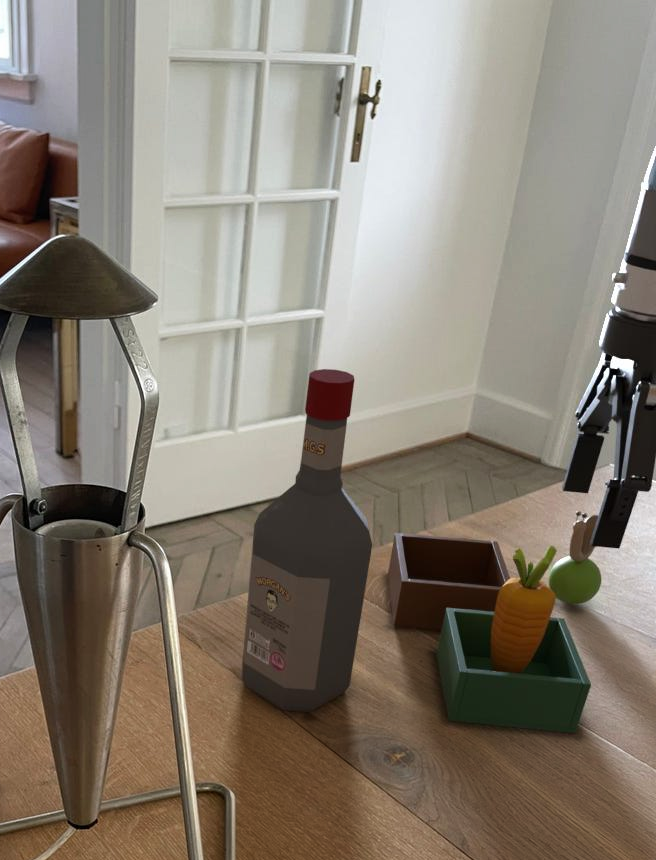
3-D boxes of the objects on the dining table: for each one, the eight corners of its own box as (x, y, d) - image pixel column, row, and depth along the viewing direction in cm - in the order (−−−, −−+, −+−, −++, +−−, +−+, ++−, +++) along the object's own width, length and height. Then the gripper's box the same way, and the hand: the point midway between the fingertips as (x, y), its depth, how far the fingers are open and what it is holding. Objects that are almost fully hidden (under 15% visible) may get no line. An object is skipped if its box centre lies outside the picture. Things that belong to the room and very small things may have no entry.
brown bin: (487, 584, 111) (497, 541, 108) (503, 636, 102) (514, 591, 99) (387, 575, 112) (395, 532, 109) (393, 626, 103) (402, 581, 100)
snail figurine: (530, 602, 108) (556, 504, 102) (557, 584, 112) (584, 488, 105) (575, 621, 105) (606, 521, 98) (602, 602, 109) (633, 504, 102)
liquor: (297, 723, 88) (338, 402, 72) (227, 678, 94) (251, 371, 77) (361, 686, 93) (413, 380, 77) (291, 646, 99) (326, 352, 83)
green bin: (550, 664, 98) (564, 618, 95) (575, 733, 88) (591, 684, 85) (436, 653, 99) (446, 607, 96) (448, 720, 89) (460, 671, 86)
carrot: (477, 697, 91) (511, 556, 83) (476, 668, 96) (509, 532, 87) (531, 706, 91) (571, 564, 82) (528, 676, 95) (566, 539, 87)
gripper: (580, 280, 102) (531, 468, 113) (647, 346, 81) (578, 568, 93) (653, 285, 101) (597, 474, 113) (740, 353, 80) (659, 576, 92)
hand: (588, 517), depth 103 cm, fingers open, 13 cm apart
